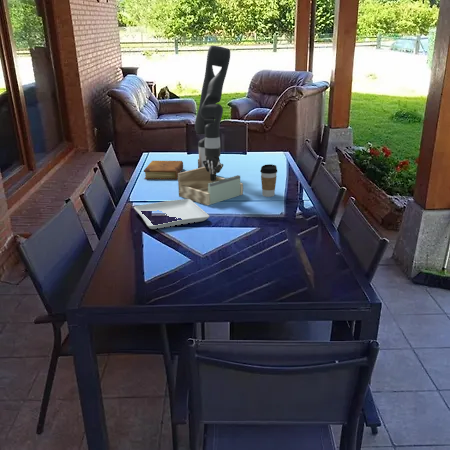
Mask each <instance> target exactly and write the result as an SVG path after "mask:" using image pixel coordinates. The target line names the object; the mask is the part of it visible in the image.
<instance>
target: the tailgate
mask: <svg viewBox="0 0 450 450" xmlns="http://www.w3.org/2000/svg"><path fill="white" fill-rule="evenodd" d="M240 183H241V175H233V176H230V177H227V178H225V179H223V180H219V181H215V182H212V183H208V193H210V205H213V204H217V203H219V202H220V203H221V202H222V201H226V200H229V199H232V198H236V197H239V196H241V195H240Z"/></svg>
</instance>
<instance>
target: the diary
mask: <svg viewBox="0 0 450 450" xmlns="http://www.w3.org/2000/svg"><path fill="white" fill-rule="evenodd" d="M183 169H184V162H183V160H151V161H150V162H149V164H148V165H146V167H145V168H144V170H143V173H144V175H145V177H144V178H143V180H178V173H181V172H183Z"/></svg>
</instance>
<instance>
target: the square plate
mask: <svg viewBox="0 0 450 450" xmlns="http://www.w3.org/2000/svg"><path fill="white" fill-rule="evenodd" d="M133 209H134V210H135V212H137V213H138V214H139V216H140V217H141V219H142V220H143V222H144V223H145V224H146V227H148V228H149V229H151V230H156V229H157V228H158V229H164V227H165V228H170V226H171V227H175V225H177V226H182V225H181V224H183V225H188V223H190V224H194V222H195V223H199V222H204V221H206V220H207V219H208V218H210V214H208V213H207V212H206V211H204V210H203V209H202V207H200V206H199V205H197V204H196V203H195V201H192V200H190V199H186V198H184V199H183V198H182V199H175V200H166V201H159V202H154V203H153V202H152V203H146V204H141V205H136V206H133ZM157 210H159V211H162V212H163V213H166V214H167V216H169V217H176V218H177V219H178V218H181V219H182V220H177V221H172V222H168V223H163V224H158V225H153V224H152V223H151V221H150V220H149V219H148V218H147V217H146V216H145V215H144V214H142V212H141V211H157ZM166 214H165V215H166ZM176 218H175V219H176Z"/></svg>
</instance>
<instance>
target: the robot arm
mask: <svg viewBox="0 0 450 450" xmlns="http://www.w3.org/2000/svg"><path fill="white" fill-rule="evenodd" d="M230 60H231V50H230V48H227V47H223V46H217V45H210V46H209V48H208V51H207V56H206V64H205V74H204V79H203V84H202V88H201V94H200V98H199V99H200V100H199V106H198V110H197V114H196V118H195V120H194V131H195V133H196V134H197V135H204V138H202V139H200V140H199V141H198V142H197V143H198V144H197V145H198V158H197V168H201V167H205V168H206V170H207V172H209V173H210V179H211V181H216V176H217V174H218V173H220V172H221V170H222V169H223V167H224V164H223V163H222V162H221V159H220V157H221V135H220V127H221V126H220V125H221V120H222V117H223V114H224V113H223V112H224V109H223V106H222V105H221V104H219V103H220V102H221V100H222V94H223V88H224V83H225V80H226V76H227V73H228V69H229V65H230ZM213 66H214V67H219V68H220V70H219V71H218V73H217V74H216V75H215V72H214V68H213Z"/></svg>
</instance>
